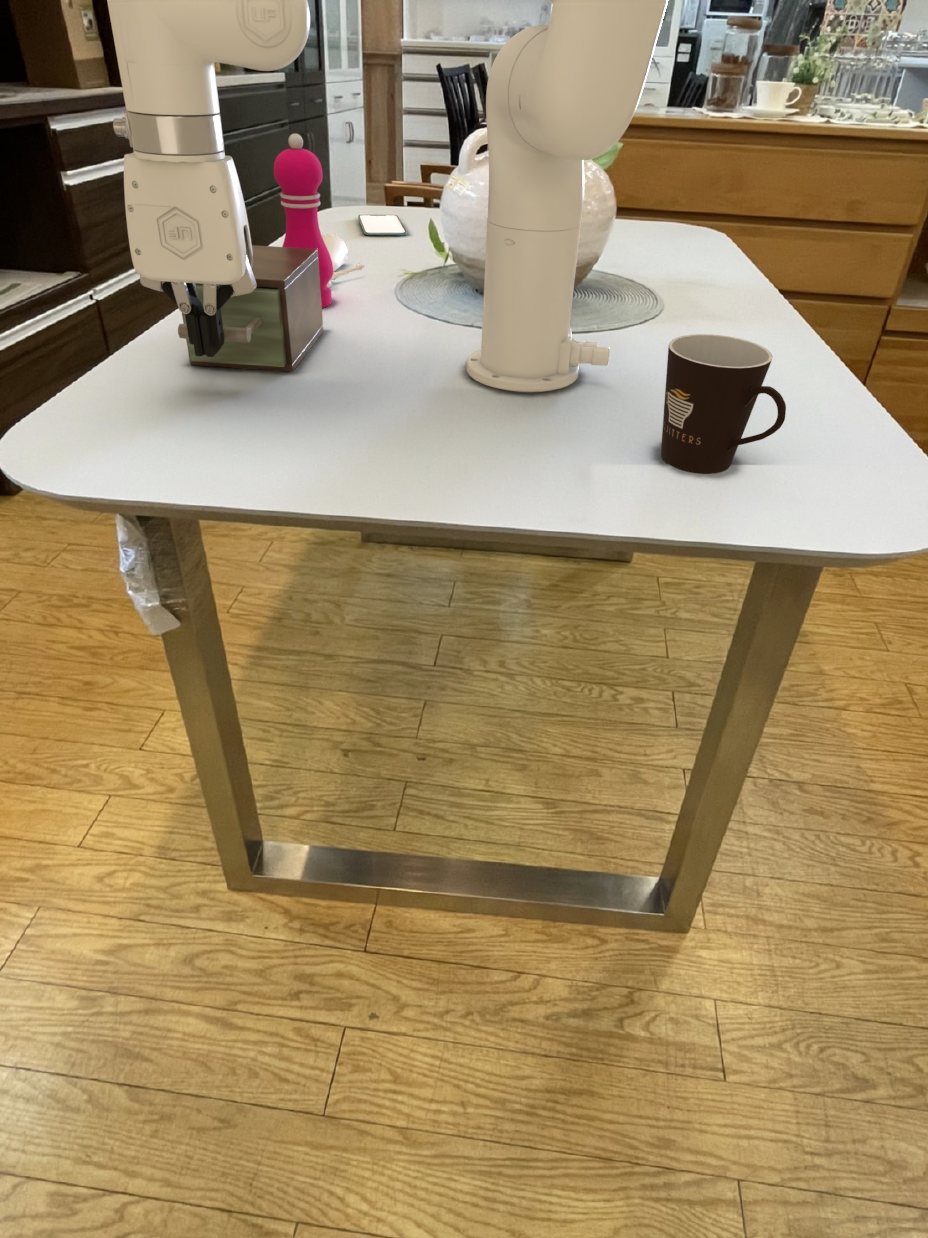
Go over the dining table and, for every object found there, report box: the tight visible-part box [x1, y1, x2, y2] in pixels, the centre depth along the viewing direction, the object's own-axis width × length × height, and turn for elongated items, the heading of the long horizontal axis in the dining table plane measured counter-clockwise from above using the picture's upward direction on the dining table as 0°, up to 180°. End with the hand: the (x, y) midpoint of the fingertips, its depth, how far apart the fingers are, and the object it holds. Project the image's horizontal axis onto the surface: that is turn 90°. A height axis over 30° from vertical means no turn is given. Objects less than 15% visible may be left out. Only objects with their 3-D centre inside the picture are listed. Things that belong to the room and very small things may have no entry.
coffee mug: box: [660, 333, 787, 475], centre depth 70 cm, size 12×9×10 cm
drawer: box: [177, 283, 287, 367], centre depth 88 cm, size 19×10×8 cm, turn 175°
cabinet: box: [181, 244, 324, 373], centre depth 92 cm, size 15×12×10 cm
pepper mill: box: [273, 133, 333, 309], centre depth 104 cm, size 7×7×20 cm
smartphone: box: [357, 214, 407, 236], centre depth 151 cm, size 8×1×16 cm
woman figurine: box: [321, 234, 365, 288], centre depth 121 cm, size 12×4×18 cm
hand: (208, 351), depth 79 cm, fingers closed
